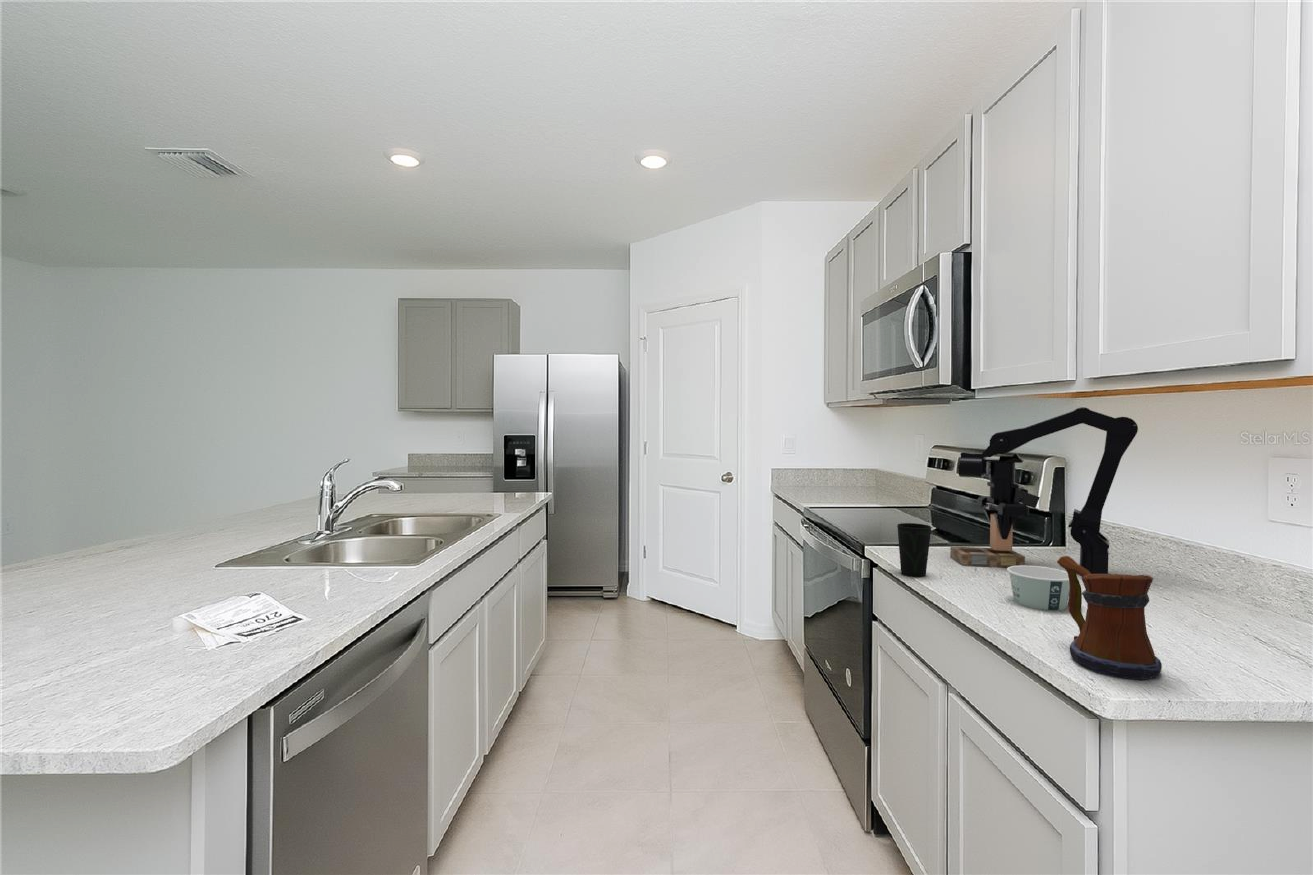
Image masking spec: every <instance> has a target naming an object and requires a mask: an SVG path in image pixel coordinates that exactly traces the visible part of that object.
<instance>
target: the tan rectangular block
mask: <svg viewBox="0 0 1313 875" xmlns="http://www.w3.org/2000/svg"><path fill="white" fill-rule="evenodd" d="M989 525H990V526H989V527H990V528H989V529H990V530H989V532H990V533H989V548H992V549H994V550H1000V551H1012V550H1013V532H1014V531H1013V530H1014V529H1013V526H1014V523H1013V524H1012V527H1011V530H1010V532H1009V535H1008V538H1007V539H1006V540H1005V539H1002V537H1001V535H1000V532H999V529H998V526H997V523H996V520H995V516H994V514H991V518H990V523H989Z"/></svg>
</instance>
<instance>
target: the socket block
mask: <svg viewBox="0 0 1313 875" xmlns="http://www.w3.org/2000/svg"><path fill="white" fill-rule="evenodd" d="M949 547H950V553H949V554H950V555H949V556H950V559H952V560H954V561H955V562H956V563H958V564H959V565H961V566H963V567H985V568H986V567H988V568H1006V569H1007V568H1008V567H1011V566H1020V565H1025V566H1026V556H1025V555H1022V554H1021V553H1019V552H1017V551H1015V550H1013V549H1012V551H1000V550H994V549H992V548H990V547H978V546H977V547H976V546H975V547H974V546H973V547H972V546H954V545H953V546H951V545H950V546H949Z"/></svg>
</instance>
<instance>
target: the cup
mask: <svg viewBox="0 0 1313 875" xmlns="http://www.w3.org/2000/svg"><path fill="white" fill-rule="evenodd" d="M896 527H897V538H898V551H899V552H898V553H899V562H900V574H901V575H902V576H905V577H910V578H911V577H912V578H924V577H926V575H927V567H928V560H929V550H930V542H931V533H932V526H930V525H929V524H923V523H914V522H913V523H911V522H902V523H901V522H900V523H898V524H897V525H896Z"/></svg>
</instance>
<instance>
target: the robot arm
mask: <svg viewBox="0 0 1313 875" xmlns="http://www.w3.org/2000/svg"><path fill="white" fill-rule="evenodd" d="M1081 424H1083V425H1087V426H1089V427H1092V428H1095V429H1099V430H1101V431H1104V432H1106V433H1105V441H1104V449H1103V450H1104V451H1103V454H1102V456H1101V458H1100V459H1101V460H1100V461H1099V464H1098V468H1097V469H1096V474H1095V476H1094V478H1093V481H1092V485H1091V487H1090V490H1089V492H1088V496H1087V498H1086V501H1085V503H1084V505H1083V507H1082V508H1081V509H1080V510H1079V509H1076V508H1074V510H1073V514H1072V519H1071V521H1070V522H1069V523H1068V526H1067V528H1070V536H1071V538H1072V539H1073V541H1075V542H1076V543H1078V544H1079V546H1080V548H1079V565H1080V566H1082V567H1084V568H1085V569H1087V570H1088V571H1089V572H1090V573H1091V574H1110V573H1109V548H1110V541H1109V539H1108V538H1107V537H1106V536H1105V535H1104V534H1102V532H1100V529H1101V523H1102V515H1103V514H1102V513H1103V509H1104V506H1105V503H1106V501H1107V498H1108V495H1109V492H1110V490H1111V487H1112V484H1113V482H1114V479H1115V476H1116V474H1117V472H1118V468H1119V465H1120V462H1121V460H1122V458H1123V456H1124V454H1125V453H1126V451H1127V449H1128V448H1129V446H1131V443H1132V442H1133V440H1134V439H1135V437H1136V436H1137V434H1138V432H1139V427H1138V424H1137V422H1136V421H1135V420H1134V419H1132V418H1131V417H1127V416H1118V417H1112V416H1110V415H1106V414H1105V413H1100V412H1098V411H1094V410H1091V409H1089V408H1087V407H1082V406H1081V407H1078V408H1076V409H1074V410H1071V411H1069V412H1066V413H1063V414H1060V415H1057V416H1055V417H1052V418H1049V419H1046V420H1043V421H1041V422H1038V423H1034V424H1032V425H1029V426H1026V427H1021V428H1014V429H1010V430H1009V429H1008V430H1005V431H1004V430H1003V431H1000V432H999V431H998V432H995V433H994V434H993V435H992V436H990V439H989V445H988V446H987V447H986V448H985V449H984V450H983V452H981V453H980V452H979V453H977V452H975V453H974V452H966V451H964V452H962V451H961V452H960V457H959V462H958V468H957V469H958V471H957V472H958V477H960V478H974V479H983V478H984V475H989V481H987V483H986V484H987V485H986V486H987V487H989V495H980V496H979V497H978V498H977V506H978V507H982V511H983V512H984V514H985V516H986V519H987V520H988V522H989V524H990V518H991V514H994V516H995V520H996V523H997V526H998V529H999V532H1000V535H1001V537H1002V539H1005V540H1006V539H1007V538H1008V535H1009V532H1010V530H1011V527H1012V524H1013V525H1014V522H1015V521H1016V520H1018V519H1019V518H1021V517H1025V516H1026V517H1028V516H1030V508H1033V509H1036V507H1037V505H1038V503H1039V501H1040V498H1041V496H1038V495H1034V494H1032V493H1030V492H1029V490H1028V489H1025V488H1024V487H1020V485H1019V484H1018V483H1016V480H1015V479H1016V464H1020V463H1021V464H1022V463H1024V462H1025V460H1024V459H1023V458H1022V457H1020V455H1019V453H1014V455H1004V454H1009V453H1011V452H1012V451H1014V450H1016V449H1019V448H1020V447H1022V446H1024V445H1026V444H1028V443H1030V442H1032V441H1033V440H1036V439H1040V438H1042V437H1045V436H1049V435H1051V434H1055V433H1057V432H1060V431H1063V430H1066V429H1070V428H1072V427H1075V426H1078V425H1081ZM1000 454H1001V455H1000ZM997 455H1000V456H999V458H998V459H995V458H993V459H992V457H995V456H997ZM990 458H991V459H990ZM989 466H990V467H989ZM989 469H990V470H989ZM989 471H990V472H989ZM984 507H985V508H984Z"/></svg>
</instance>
